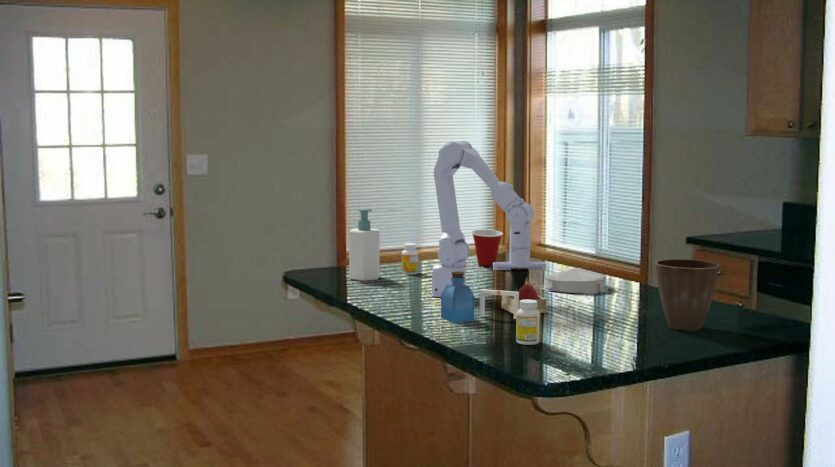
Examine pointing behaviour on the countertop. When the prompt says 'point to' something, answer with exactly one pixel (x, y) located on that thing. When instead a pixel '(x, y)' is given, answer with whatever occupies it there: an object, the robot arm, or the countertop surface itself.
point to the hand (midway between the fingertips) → (518, 295)
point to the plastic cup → (486, 246)
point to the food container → (575, 281)
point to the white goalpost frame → (498, 292)
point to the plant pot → (686, 291)
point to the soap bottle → (364, 250)
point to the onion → (527, 292)
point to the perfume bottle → (457, 300)
